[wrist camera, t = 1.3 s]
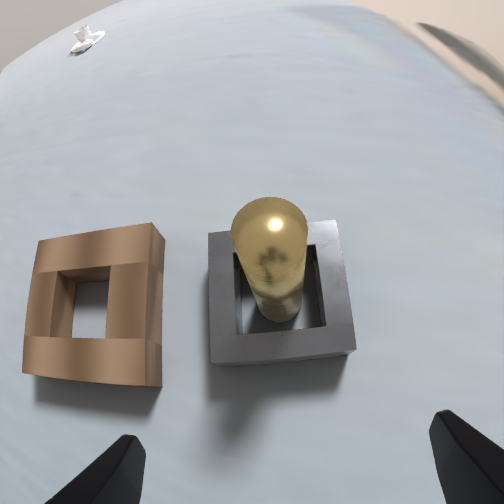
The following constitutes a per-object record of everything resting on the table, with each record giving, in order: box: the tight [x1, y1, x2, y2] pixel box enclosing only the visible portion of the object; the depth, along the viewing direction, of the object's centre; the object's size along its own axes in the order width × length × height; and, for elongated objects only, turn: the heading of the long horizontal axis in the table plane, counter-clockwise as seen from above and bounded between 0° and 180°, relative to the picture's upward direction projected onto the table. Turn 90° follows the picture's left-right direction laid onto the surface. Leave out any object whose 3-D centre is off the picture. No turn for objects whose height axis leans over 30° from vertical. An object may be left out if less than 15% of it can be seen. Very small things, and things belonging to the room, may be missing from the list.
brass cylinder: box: [231, 197, 308, 322], centre depth 18 cm, size 3×3×11 cm
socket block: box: [208, 220, 356, 366], centre depth 22 cm, size 9×9×3 cm
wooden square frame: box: [22, 223, 165, 387], centre depth 23 cm, size 12×12×3 cm
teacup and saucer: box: [71, 25, 105, 53], centre depth 47 cm, size 9×8×4 cm
